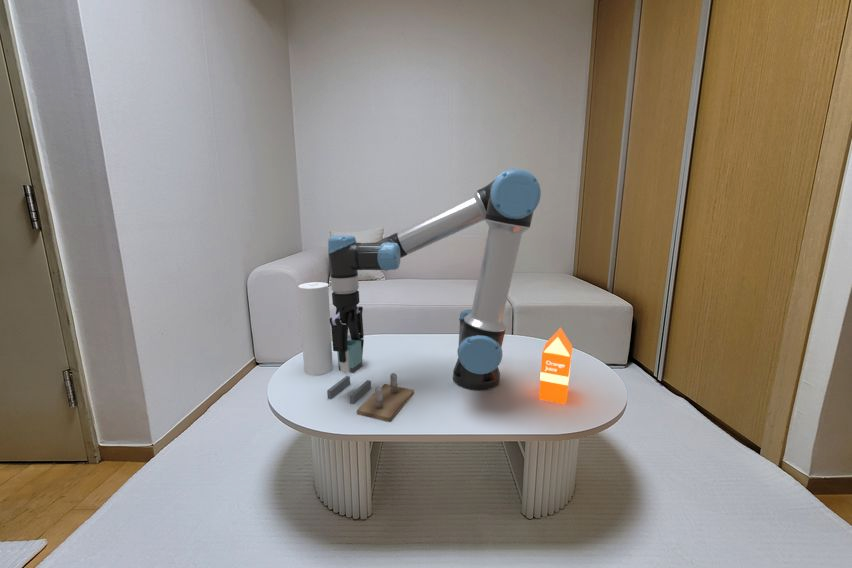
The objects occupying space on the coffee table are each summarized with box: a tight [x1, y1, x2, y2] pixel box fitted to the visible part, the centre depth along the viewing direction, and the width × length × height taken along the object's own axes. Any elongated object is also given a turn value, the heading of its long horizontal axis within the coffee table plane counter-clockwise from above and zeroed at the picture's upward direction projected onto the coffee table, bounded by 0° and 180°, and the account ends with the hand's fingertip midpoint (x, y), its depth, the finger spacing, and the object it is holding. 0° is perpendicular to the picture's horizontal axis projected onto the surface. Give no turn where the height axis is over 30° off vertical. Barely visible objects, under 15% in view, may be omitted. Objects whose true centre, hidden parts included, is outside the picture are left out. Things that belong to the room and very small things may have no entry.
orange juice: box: [538, 327, 573, 405], centre depth 109 cm, size 8×9×20 cm
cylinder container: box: [297, 281, 334, 376], centre depth 125 cm, size 9×9×30 cm
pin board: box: [356, 372, 415, 423], centre depth 106 cm, size 10×16×7 cm, turn 158°
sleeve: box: [336, 339, 364, 374], centre depth 109 cm, size 5×5×8 cm
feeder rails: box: [326, 375, 372, 405], centre depth 112 cm, size 9×10×2 cm
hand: (350, 367), depth 110 cm, fingers closed on sleeve, 5 cm apart
